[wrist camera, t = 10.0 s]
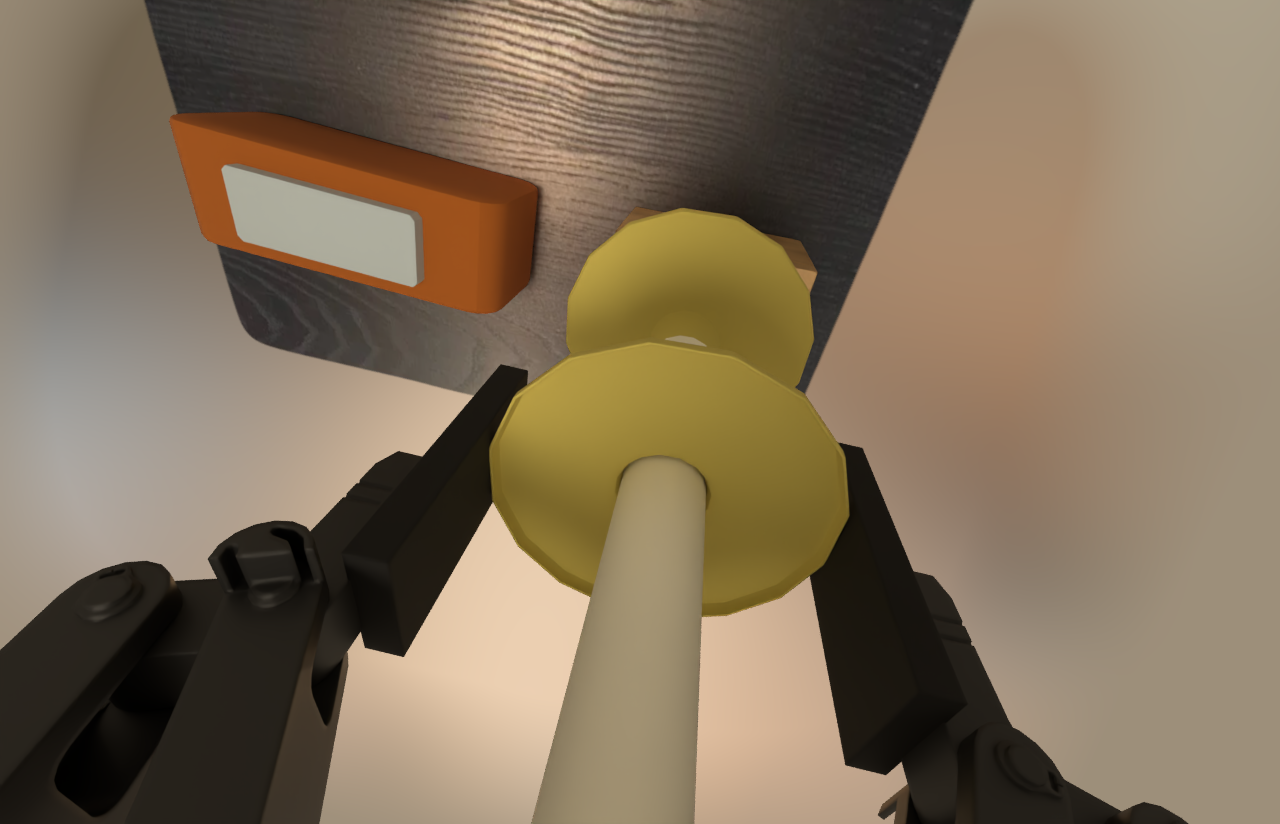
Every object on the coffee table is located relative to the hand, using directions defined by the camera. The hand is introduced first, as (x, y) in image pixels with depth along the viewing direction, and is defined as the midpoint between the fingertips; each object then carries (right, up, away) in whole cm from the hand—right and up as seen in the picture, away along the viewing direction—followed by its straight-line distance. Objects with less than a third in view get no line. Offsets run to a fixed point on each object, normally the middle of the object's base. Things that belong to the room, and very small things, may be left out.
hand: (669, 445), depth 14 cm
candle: (+1, +4, +6) cm, 8 cm away
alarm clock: (-21, +20, +29) cm, 41 cm away
